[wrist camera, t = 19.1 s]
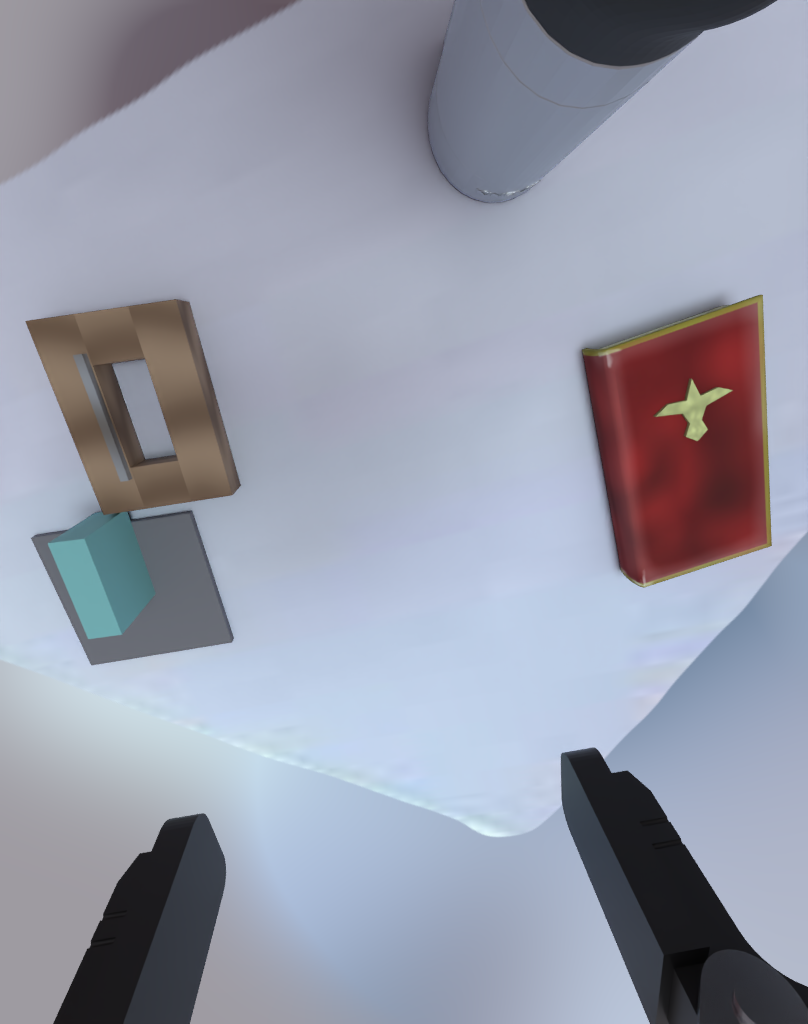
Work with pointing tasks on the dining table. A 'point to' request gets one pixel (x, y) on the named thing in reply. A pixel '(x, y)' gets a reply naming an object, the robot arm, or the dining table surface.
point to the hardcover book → (685, 441)
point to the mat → (157, 594)
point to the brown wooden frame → (103, 413)
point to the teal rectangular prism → (103, 573)
